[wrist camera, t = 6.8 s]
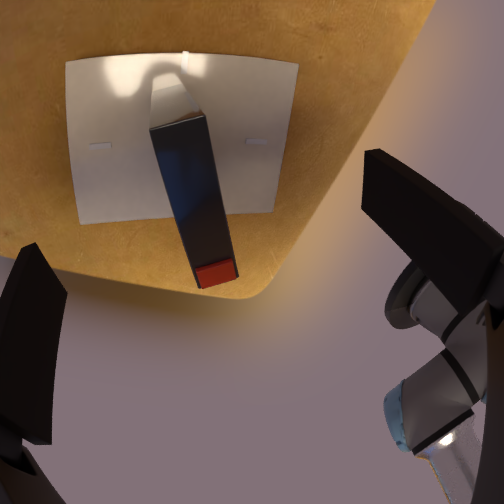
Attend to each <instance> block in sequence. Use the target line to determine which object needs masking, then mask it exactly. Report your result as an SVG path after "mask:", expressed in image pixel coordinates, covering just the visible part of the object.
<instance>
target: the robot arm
mask: <svg viewBox="0 0 504 504" xmlns="http://www.w3.org/2000/svg"><path fill="white" fill-rule="evenodd" d="M361 209H362V210H363V211H364V212H365V213H366V214H367V215H368V216H369V217H370V218H371V219H372V220H373V221H374V222H375V223H376V224H377V225H378V226H379V227H380V228H381V229H382V230H383V231H384V232H385V233H386V234H388V236H390V238H392V240H393V241H394V242H395V243H396V244H397V245H398V246H399V247H400V248H401V249H402V250H403V251H404V252H405V253H406V254H407V255H408V256H409V257H410V259H412V261H413V262H414V263H415V264H416V265H417V266H418V267H419V268H420V269H421V270H422V272H423V273H424V274H425V276H424V278H423V279H422V280H421V281H420V282H419V284H418V285H417V287H416V288H415V290H414V291H413V293H412V295H411V297H410V299H409V301H408V305H407V311H408V313H409V315H410V316H411V317H412V319H413V320H414V321H416V322H417V323H419V324H420V325H422V326H423V327H424V328H426V329H427V330H429V331H430V332H432V333H434V334H435V335H437V336H438V337H439V338H440V340H441V341H442V342H443V344H444V345H445V347H446V348H445V349H444V350H443V351H441V352H440V353H439V354H438V355H437V356H435V357H434V358H433V359H432V360H430V361H429V362H428V363H427V364H426V365H424V366H423V367H421V368H420V369H419V370H417V371H416V372H415V373H413V374H412V375H411V376H410V377H408V378H407V379H404V380H402V381H401V383H400V384H399V385H397V386H396V387H395V388H393V389H392V390H391V391H390V392H389V393H388V394H387V395H386V396H385V399H384V413H385V417H386V421H387V424H388V427H389V430H390V432H391V435H392V437H393V439H394V441H396V444H397V446H398V448H399V449H400V450H401V451H402V452H409V451H411V450H412V452H413V454H414V456H415V457H416V458H420V459H425V460H427V461H428V462H429V464H430V466H431V468H432V469H433V472H434V473H435V476H436V478H437V479H438V482H439V483H440V485H441V488H442V490H443V492H444V493H445V496H446V497H447V500H448V502H449V504H504V237H503V236H502V235H500V234H499V233H498V232H497V231H496V230H495V229H494V228H492V227H491V226H490V225H489V224H488V223H487V222H485V221H483V219H482V218H480V217H479V216H478V215H477V214H476V215H475V212H473V211H472V210H471V209H469V208H468V207H467V206H466V205H464V204H462V203H460V202H458V201H456V200H454V199H453V198H452V197H451V196H449V195H448V194H447V193H445V192H444V191H443V190H441V189H440V188H438V187H437V186H436V185H434V184H433V183H431V182H430V181H429V180H427V179H426V178H424V177H423V176H422V175H420V174H419V173H417V172H416V171H414V170H413V169H411V168H410V167H408V166H407V165H405V164H404V163H402V162H400V161H399V160H397V159H396V158H394V157H393V156H391V155H389V154H388V153H386V152H385V151H383V150H381V149H373V150H367V151H365V154H364V175H363V191H362V205H361ZM66 299H67V292H66V290H65V288H64V287H63V285H62V284H61V282H60V281H59V279H58V278H57V276H56V275H55V273H54V272H53V270H52V268H51V267H50V265H49V264H48V262H47V260H46V259H45V257H44V256H43V254H42V252H41V251H40V249H39V247H38V245H37V244H36V242H35V243H32V244H30V245H27V246H25V247H23V248H21V250H20V252H19V254H18V257H17V259H16V261H15V263H14V266H13V268H12V270H11V272H10V275H9V277H8V279H7V282H6V285H5V287H4V289H3V292H2V295H1V297H0V504H66V503H65V502H64V500H63V499H62V498H61V496H60V495H59V494H58V493H57V491H56V490H55V488H54V487H53V486H52V485H51V483H50V482H49V480H48V479H47V477H46V476H45V475H44V473H43V472H42V470H41V469H40V467H39V465H38V464H37V462H36V461H35V459H34V458H33V456H32V455H31V453H30V452H29V450H28V449H27V448H26V447H24V446H23V445H22V438H23V439H25V440H27V441H29V442H30V443H32V444H34V445H51V444H52V408H53V392H54V379H55V369H56V360H57V352H58V345H59V338H60V332H61V325H62V319H63V314H64V309H65V303H66ZM480 399H481V402H483V403H485V404H486V415H485V425H484V434H483V443H482V445H481V443H480V441H479V440H478V438H477V436H476V434H475V433H474V431H473V424H474V420H475V414H474V412H473V411H472V409H471V407H472V406H473V405H474V404H475V403H477V402H478V401H479V400H480Z"/></svg>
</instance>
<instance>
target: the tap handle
mask: <svg viewBox="0 0 504 504" xmlns="http://www.w3.org/2000/svg"><path fill="white" fill-rule="evenodd" d="M149 134H150V137H151V141H152V145H153V148H154V152H155V155H156V159H157V162H158V166H159V169H160V173H161V176H162V179H163V183H164V186H165V189H166V193H167V196H168V199H169V202H170V206H171V209H172V212H173V215H174V218H175V221H176V224H177V227H178V231H179V234H180V237H181V240H182V243H183V246H184V249H185V252H186V254H187V257H188V260H189V263H190V266H191V269H192V272H193V275H194V277H195V280H196V283H197V286H198V288H199V289H201V288H202V289H204V288H208V287H211V286H215V285H218V284H221V283H225V282H228V281H232V280H235V279H236V278H238V277H239V274H238V270H237V265H236V260H235V256H234V251H233V246H232V241H231V237H230V232H229V227H228V222H227V218H226V213H225V208H224V203H223V198H222V193H221V188H220V183H219V179H218V174H217V169H216V164H215V159H214V154H213V148H212V143H211V138H210V133H209V128H208V123H207V118H206V115H205V113H204V112H203V111H202V109H201V108H200V107H199V105H198V104H197V103H196V101H195V100H194V99H193V97H192V96H191V95H190V93H189V92H188V91H187V89H186V88H185V87H184V86H183V84H178V85H174V86H171V87H167V88H163V89H159V90H156V91H153V92H152V98H151V109H150V121H149Z"/></svg>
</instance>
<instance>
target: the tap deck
mask: <svg viewBox="0 0 504 504" xmlns="http://www.w3.org/2000/svg"><path fill="white" fill-rule="evenodd" d="M298 68H299V64H296V63H291V62H285V61H279V60H272V59H265V58H257V57H248V56H238V55H226V54H211V53H189V51H182V53H138V54H123V55H111V56H102V57H93V58H86V59H79V60H73V61H67V62H66V116H67V132H68V144H69V154H70V163H71V171H72V179H73V186H74V192H75V199H76V205H77V210H78V216H79V221H80V225H84V224H94V223H106V222H117V221H130V220H143V219H157V218H172V217H174V215H173V212H172V209H171V206H170V202H169V199H168V196H167V193H166V189H165V186H164V183H163V179H162V176H161V173H160V169H159V166H158V162H157V159H156V155H155V152H154V148H153V145H152V141H151V137H150V134H149V121H150V109H151V98H152V92H153V91H156V90H159V89H163V88H167V87H171V86H174V85H178V84H183V86H184V87H185V88H186V89H187V91H188V92H189V93H190V95H191V96H192V97H193V99H194V100H195V101H196V103H197V104H198V105H199V107H200V108H201V109H202V111H203V112H204V113H205V115H206V118H207V123H208V128H209V133H210V138H211V143H212V148H213V154H214V159H215V164H216V169H217V174H218V179H219V183H220V188H221V193H222V198H223V203H224V208H225V213H226V214H247V213H272V212H273V209H274V204H275V198H276V193H277V187H278V182H279V176H280V171H281V165H282V160H283V154H284V149H285V143H286V137H287V132H288V126H289V120H290V115H291V109H292V103H293V97H294V91H295V86H296V80H297V74H298Z"/></svg>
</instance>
